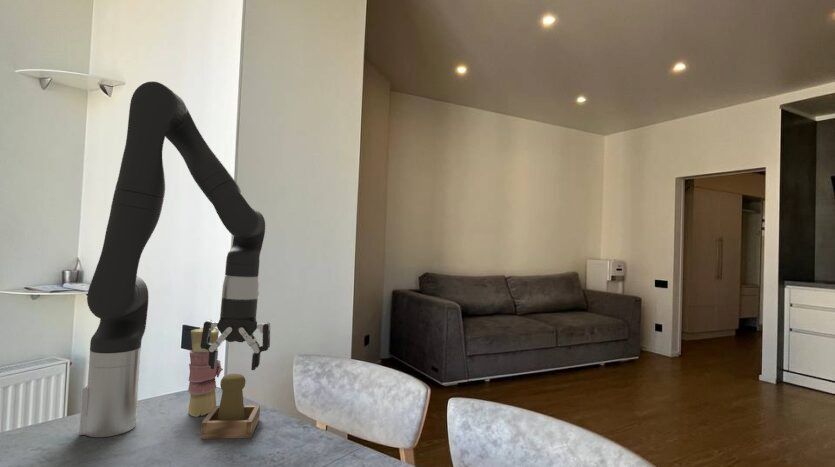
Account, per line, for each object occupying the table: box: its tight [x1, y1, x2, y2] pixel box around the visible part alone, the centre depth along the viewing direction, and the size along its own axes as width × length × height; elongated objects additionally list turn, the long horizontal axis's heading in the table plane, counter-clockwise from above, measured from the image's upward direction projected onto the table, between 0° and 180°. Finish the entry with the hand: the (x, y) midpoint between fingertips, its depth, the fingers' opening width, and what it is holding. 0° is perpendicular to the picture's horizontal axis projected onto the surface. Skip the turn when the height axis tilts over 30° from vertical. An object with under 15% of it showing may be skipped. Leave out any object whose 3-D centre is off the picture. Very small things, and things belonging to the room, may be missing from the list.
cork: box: [217, 373, 246, 421], centre depth 100 cm, size 6×6×11 cm
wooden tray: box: [200, 404, 261, 440], centre depth 99 cm, size 10×10×3 cm
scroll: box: [187, 327, 224, 418], centre depth 109 cm, size 8×8×20 cm
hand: (234, 368), depth 100 cm, fingers open, 8 cm apart
